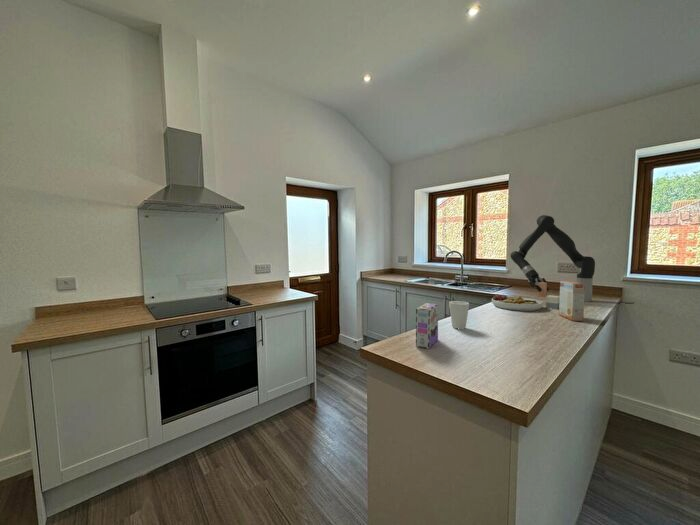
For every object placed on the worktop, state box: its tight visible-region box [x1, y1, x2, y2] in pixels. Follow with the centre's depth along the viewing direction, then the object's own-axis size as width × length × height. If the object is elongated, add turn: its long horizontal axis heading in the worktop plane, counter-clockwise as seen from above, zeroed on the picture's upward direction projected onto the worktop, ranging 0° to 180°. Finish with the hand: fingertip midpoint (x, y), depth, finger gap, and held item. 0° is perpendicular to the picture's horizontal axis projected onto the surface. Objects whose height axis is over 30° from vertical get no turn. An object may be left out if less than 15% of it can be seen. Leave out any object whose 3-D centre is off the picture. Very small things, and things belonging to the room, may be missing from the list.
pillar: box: [537, 282, 548, 298], centre depth 203 cm, size 4×4×10 cm
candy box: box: [415, 302, 439, 350], centre depth 124 cm, size 14×6×16 cm, turn 148°
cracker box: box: [558, 280, 585, 322], centre depth 163 cm, size 14×6×21 cm, turn 168°
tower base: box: [545, 302, 560, 310], centre depth 191 cm, size 6×6×4 cm
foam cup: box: [448, 300, 470, 330], centre depth 147 cm, size 10×9×13 cm
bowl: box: [491, 293, 544, 312], centre depth 195 cm, size 30×30×8 cm
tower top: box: [546, 294, 560, 304], centre depth 191 cm, size 6×6×4 cm
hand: (544, 290), depth 202 cm, fingers closed on pillar, 6 cm apart
